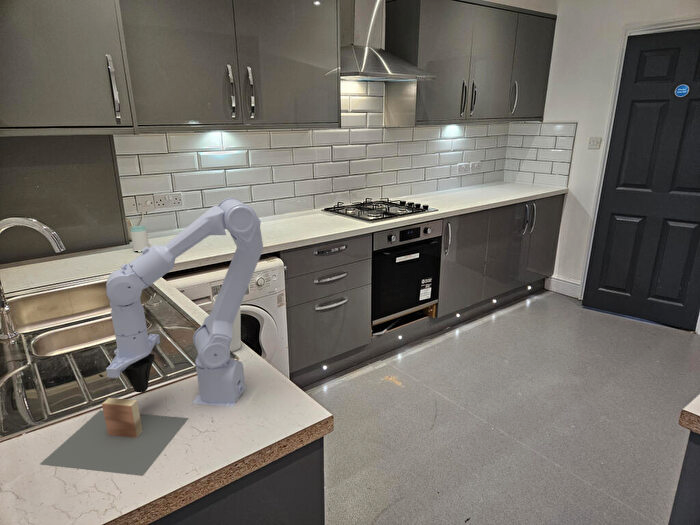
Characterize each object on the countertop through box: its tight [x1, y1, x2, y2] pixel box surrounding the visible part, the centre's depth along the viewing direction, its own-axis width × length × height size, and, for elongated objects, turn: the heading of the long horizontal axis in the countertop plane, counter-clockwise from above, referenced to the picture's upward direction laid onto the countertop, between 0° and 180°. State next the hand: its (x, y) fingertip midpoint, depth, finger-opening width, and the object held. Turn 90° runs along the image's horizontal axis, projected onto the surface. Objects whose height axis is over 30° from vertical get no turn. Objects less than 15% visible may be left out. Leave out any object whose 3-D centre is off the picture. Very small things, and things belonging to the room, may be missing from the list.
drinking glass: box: [212, 293, 242, 353], centre depth 121 cm, size 7×7×15 cm
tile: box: [101, 397, 143, 438], centre depth 88 cm, size 6×2×7 cm, turn 81°
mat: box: [39, 409, 190, 477], centre depth 87 cm, size 20×16×1 cm
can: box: [130, 225, 150, 251], centre depth 219 cm, size 7×7×12 cm
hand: (141, 390), depth 93 cm, fingers closed
